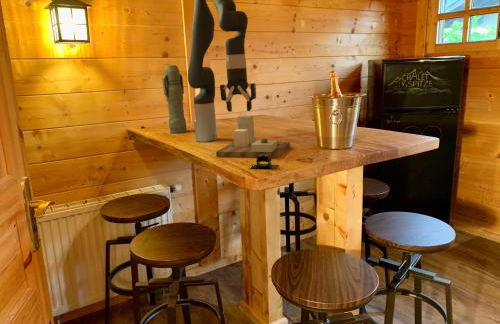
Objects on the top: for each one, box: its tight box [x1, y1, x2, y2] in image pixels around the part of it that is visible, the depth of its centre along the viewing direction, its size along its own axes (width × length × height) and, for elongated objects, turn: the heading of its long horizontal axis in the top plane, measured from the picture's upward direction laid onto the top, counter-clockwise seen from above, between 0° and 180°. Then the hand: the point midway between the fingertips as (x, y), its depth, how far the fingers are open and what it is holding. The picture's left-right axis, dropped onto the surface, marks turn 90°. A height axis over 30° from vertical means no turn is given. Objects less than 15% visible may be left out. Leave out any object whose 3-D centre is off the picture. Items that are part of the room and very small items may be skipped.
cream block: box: [232, 128, 249, 147], centre depth 153 cm, size 4×4×8 cm
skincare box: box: [236, 115, 256, 142], centre depth 167 cm, size 6×4×12 cm
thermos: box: [161, 64, 187, 135], centre depth 206 cm, size 9×12×35 cm
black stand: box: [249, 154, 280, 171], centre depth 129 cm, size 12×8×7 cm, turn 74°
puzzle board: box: [215, 141, 291, 159], centre depth 150 cm, size 24×18×2 cm
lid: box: [251, 138, 278, 152], centre depth 141 cm, size 8×8×4 cm
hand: (239, 111), depth 150 cm, fingers open, 7 cm apart
